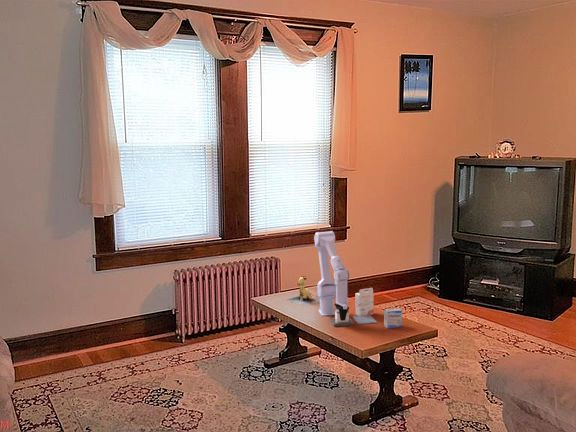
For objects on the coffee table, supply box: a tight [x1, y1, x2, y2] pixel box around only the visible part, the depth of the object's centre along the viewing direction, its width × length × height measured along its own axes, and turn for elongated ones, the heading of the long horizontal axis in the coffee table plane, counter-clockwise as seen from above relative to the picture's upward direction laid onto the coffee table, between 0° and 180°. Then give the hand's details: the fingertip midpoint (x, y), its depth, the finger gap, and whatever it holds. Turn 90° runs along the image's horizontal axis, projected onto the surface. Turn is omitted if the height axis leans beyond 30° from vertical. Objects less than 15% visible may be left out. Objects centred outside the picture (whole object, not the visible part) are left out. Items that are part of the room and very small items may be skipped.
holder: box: [330, 316, 355, 328], centre depth 286 cm, size 8×10×2 cm
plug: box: [334, 308, 350, 323], centre depth 286 cm, size 4×6×7 cm, turn 99°
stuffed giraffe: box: [287, 274, 320, 307], centre depth 326 cm, size 16×18×16 cm
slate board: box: [352, 315, 378, 325], centre depth 290 cm, size 11×10×1 cm
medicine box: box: [383, 307, 403, 329], centre depth 279 cm, size 8×4×9 cm, turn 101°
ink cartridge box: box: [354, 287, 375, 316], centre depth 298 cm, size 9×5×15 cm, turn 112°
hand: (341, 318), depth 286 cm, fingers closed on plug, 4 cm apart
